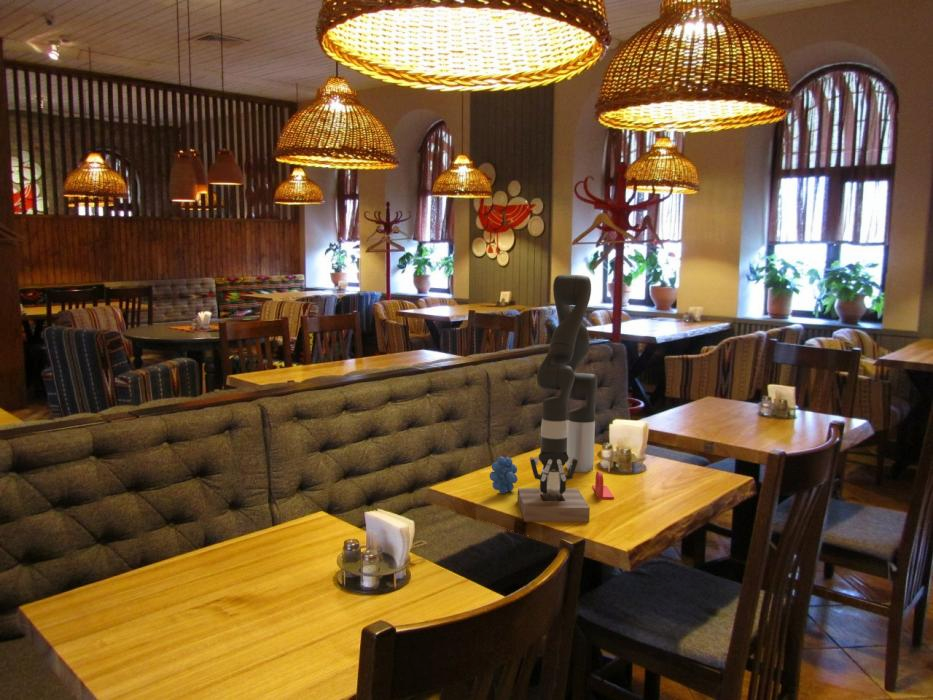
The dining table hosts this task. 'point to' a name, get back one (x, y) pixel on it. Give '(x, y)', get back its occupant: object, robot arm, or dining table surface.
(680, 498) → the dining table surface
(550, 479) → the peg
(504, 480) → the grapes
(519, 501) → the socket block
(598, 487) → the bracket
